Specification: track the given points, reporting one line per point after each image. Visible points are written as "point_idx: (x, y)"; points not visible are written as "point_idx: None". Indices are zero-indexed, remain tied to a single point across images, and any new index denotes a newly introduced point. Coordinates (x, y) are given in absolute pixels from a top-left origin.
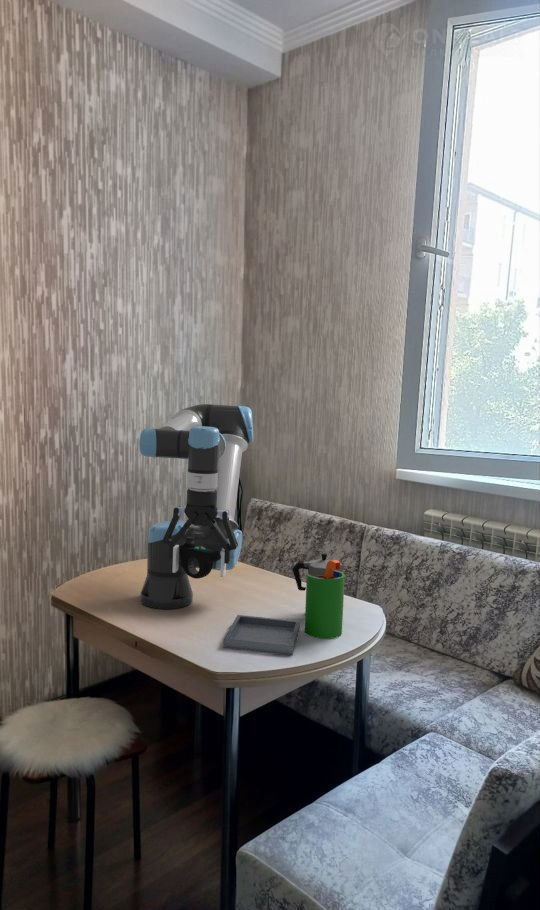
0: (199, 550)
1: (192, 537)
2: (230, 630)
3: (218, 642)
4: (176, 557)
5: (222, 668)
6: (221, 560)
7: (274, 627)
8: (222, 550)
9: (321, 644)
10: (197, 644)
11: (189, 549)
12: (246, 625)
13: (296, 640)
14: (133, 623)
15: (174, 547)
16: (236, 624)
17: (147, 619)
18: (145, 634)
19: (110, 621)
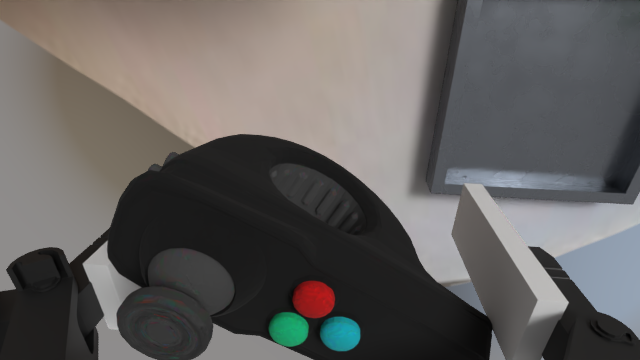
0: (322, 352)
1: (183, 332)
2: (447, 135)
3: (409, 148)
4: None
5: (429, 271)
6: (486, 305)
7: (609, 15)
8: (521, 342)
9: None
10: (356, 171)
11: (236, 328)
12: (500, 22)
13: None
14: (141, 66)
15: (117, 328)
16: (467, 70)
17: (159, 20)
18: (210, 137)
19: (76, 68)
